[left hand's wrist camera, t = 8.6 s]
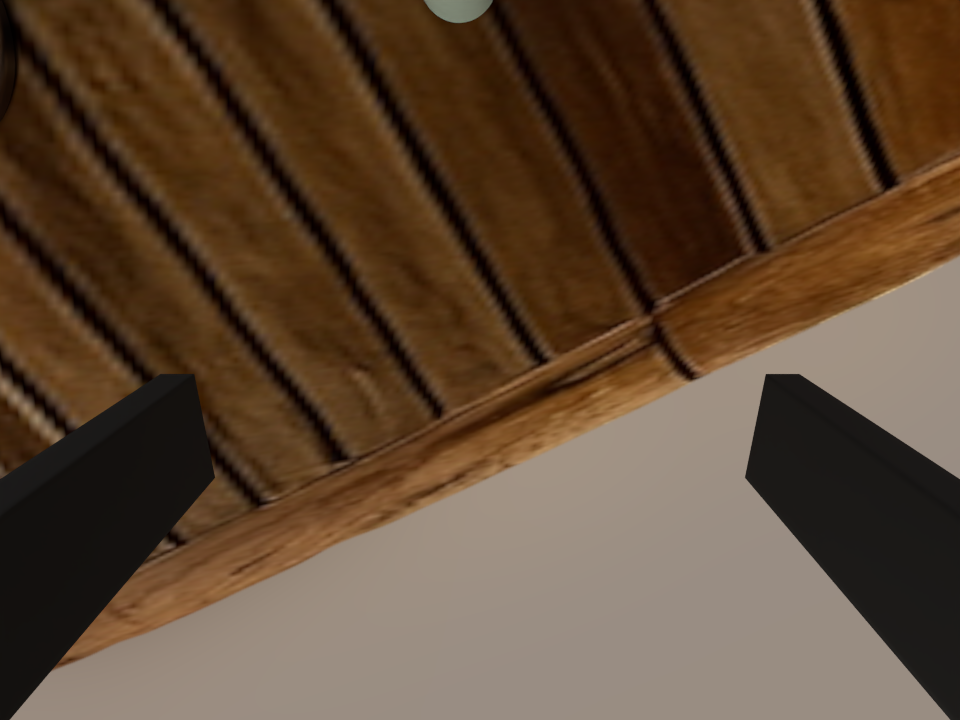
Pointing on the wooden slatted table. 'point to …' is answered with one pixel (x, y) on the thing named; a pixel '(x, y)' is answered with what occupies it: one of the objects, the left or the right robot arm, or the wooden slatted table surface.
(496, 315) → the wooden slatted table surface
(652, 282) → the wooden slatted table surface
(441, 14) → the jar
